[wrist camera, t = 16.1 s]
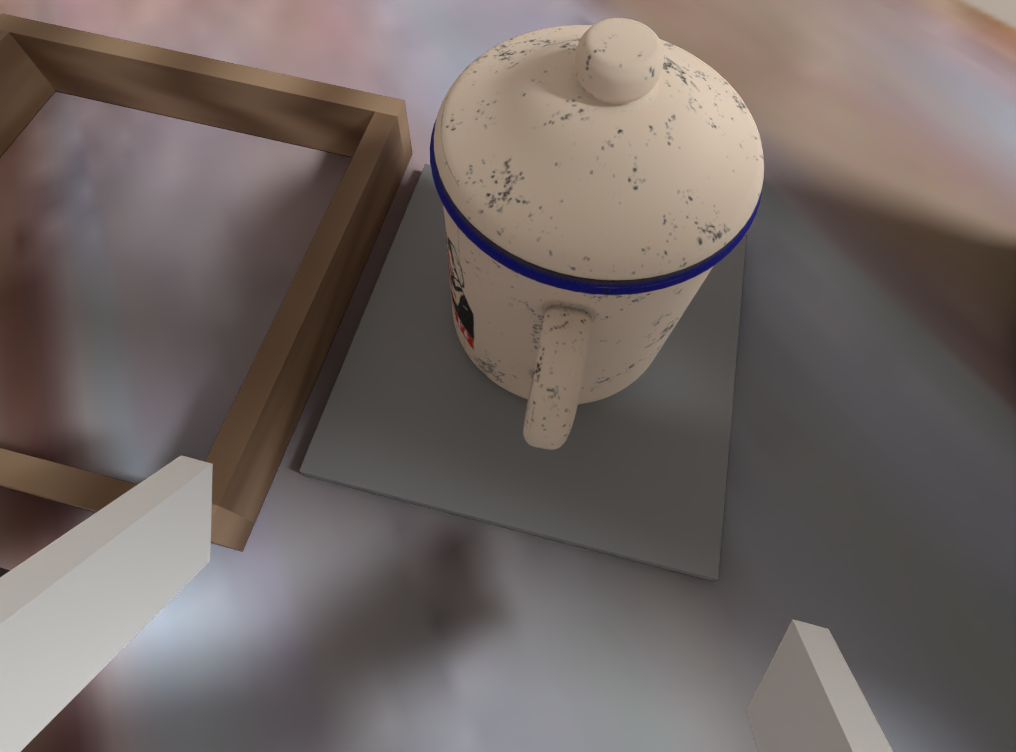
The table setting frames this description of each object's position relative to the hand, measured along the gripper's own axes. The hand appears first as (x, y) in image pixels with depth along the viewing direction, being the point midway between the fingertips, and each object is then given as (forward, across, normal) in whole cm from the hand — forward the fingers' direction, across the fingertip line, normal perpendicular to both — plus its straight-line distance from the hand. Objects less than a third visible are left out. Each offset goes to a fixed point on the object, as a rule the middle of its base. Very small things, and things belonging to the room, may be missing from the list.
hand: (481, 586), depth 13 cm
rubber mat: (+12, 0, +2) cm, 12 cm away
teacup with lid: (+12, 0, +2) cm, 12 cm away
